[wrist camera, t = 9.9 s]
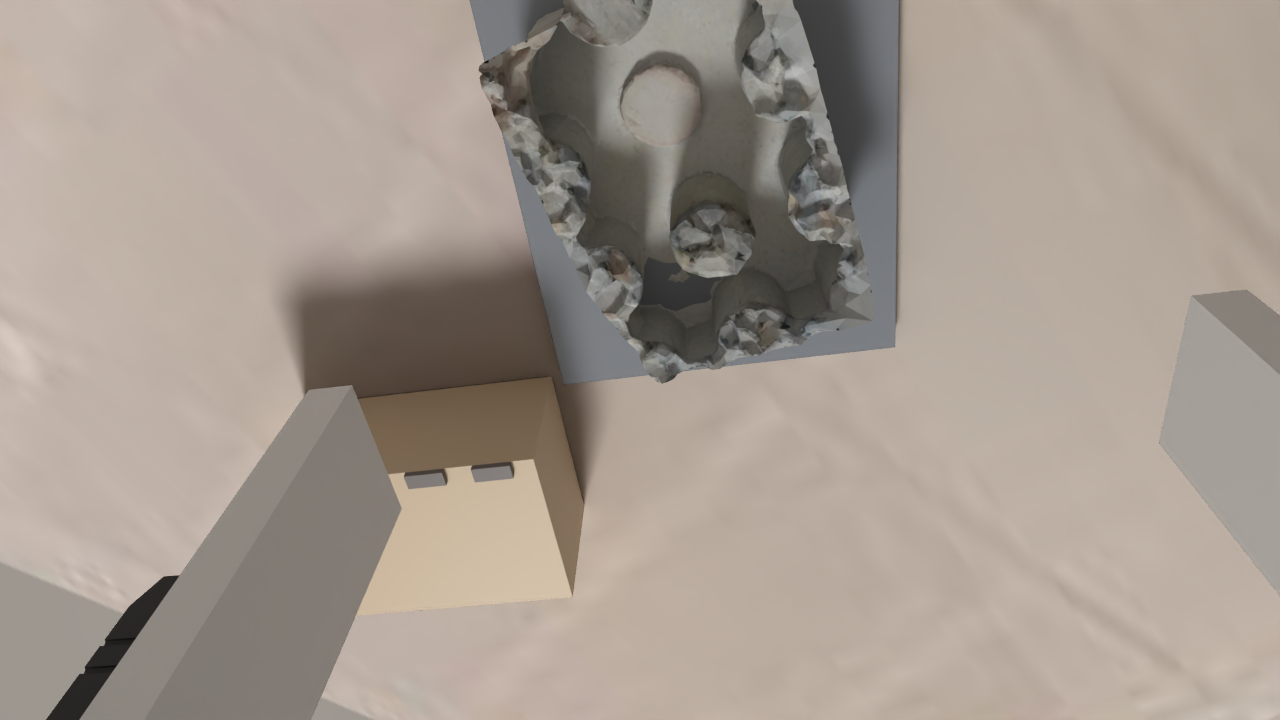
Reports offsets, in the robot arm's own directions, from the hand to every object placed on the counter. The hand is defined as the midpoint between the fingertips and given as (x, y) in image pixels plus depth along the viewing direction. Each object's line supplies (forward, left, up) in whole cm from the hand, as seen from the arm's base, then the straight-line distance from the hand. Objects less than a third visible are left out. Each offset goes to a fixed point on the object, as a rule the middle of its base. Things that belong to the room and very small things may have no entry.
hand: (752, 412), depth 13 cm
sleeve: (+11, +10, -13) cm, 19 cm away
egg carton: (+1, 0, -12) cm, 12 cm away
